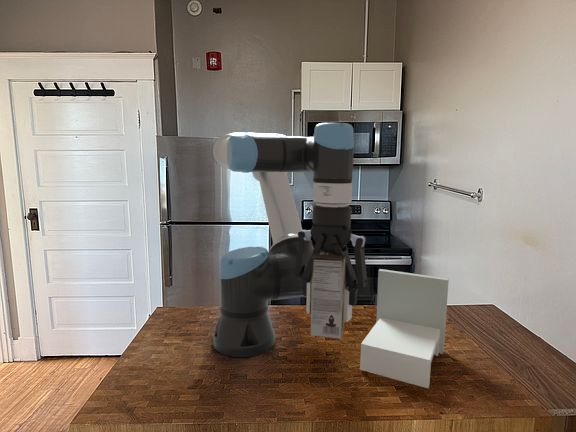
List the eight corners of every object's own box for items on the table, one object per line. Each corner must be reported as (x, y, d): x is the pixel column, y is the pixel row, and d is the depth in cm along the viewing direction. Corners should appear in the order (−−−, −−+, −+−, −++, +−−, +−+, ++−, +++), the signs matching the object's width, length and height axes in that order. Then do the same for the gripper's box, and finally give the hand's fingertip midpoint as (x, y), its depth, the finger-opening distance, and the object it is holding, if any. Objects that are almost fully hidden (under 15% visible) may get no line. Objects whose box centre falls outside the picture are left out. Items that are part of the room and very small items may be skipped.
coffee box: (315, 317, 82) (317, 245, 79) (345, 319, 81) (347, 247, 78) (309, 336, 73) (311, 256, 71) (342, 339, 72) (345, 258, 69)
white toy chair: (355, 368, 81) (358, 288, 79) (377, 336, 96) (380, 269, 94) (433, 389, 74) (439, 302, 71) (443, 351, 89) (448, 278, 86)
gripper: (277, 202, 75) (276, 311, 78) (378, 210, 65) (372, 334, 68) (294, 199, 81) (293, 300, 84) (388, 205, 71) (382, 319, 75)
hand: (328, 315), depth 76 cm, fingers closed on coffee box, 7 cm apart
